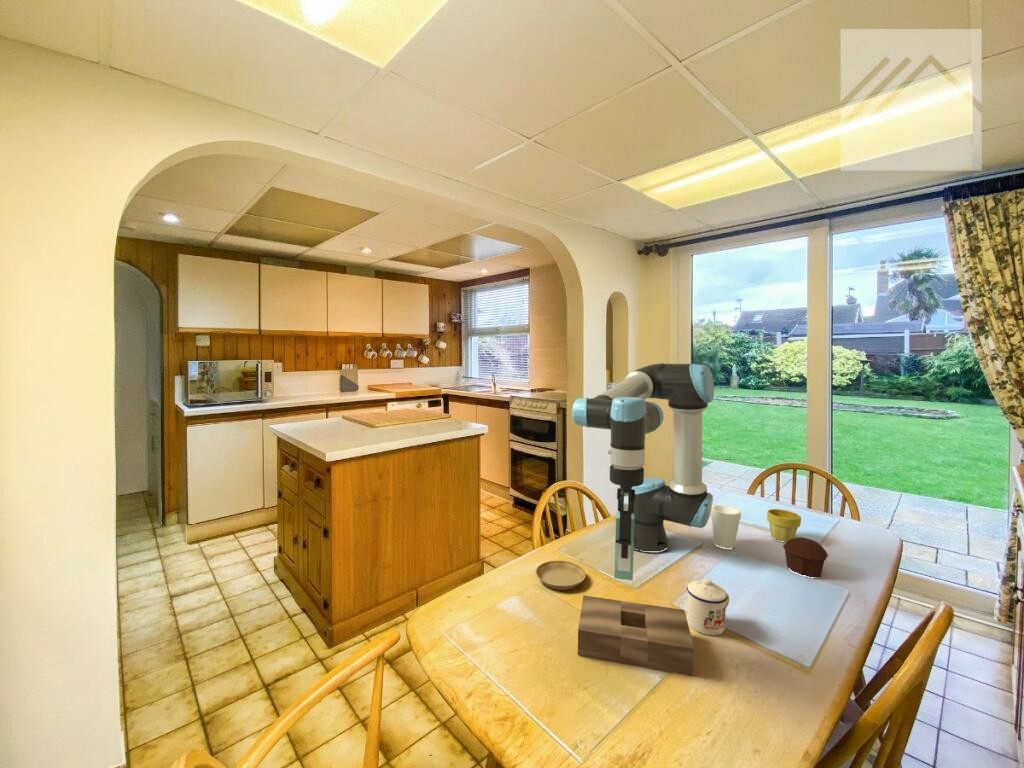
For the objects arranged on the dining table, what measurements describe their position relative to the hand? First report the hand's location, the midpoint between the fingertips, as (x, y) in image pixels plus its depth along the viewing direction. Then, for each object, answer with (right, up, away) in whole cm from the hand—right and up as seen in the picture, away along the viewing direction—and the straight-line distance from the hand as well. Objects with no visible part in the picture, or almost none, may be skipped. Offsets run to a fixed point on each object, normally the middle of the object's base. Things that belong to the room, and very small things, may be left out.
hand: (624, 564), depth 99 cm
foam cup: (+49, -16, +53) cm, 74 cm away
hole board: (+2, -19, 0) cm, 19 cm away
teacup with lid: (+24, -18, +8) cm, 31 cm away
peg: (0, -2, 0) cm, 2 cm away
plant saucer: (-11, -17, +29) cm, 35 cm away
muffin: (+65, -17, +35) cm, 76 cm away
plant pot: (+73, -15, +58) cm, 95 cm away
